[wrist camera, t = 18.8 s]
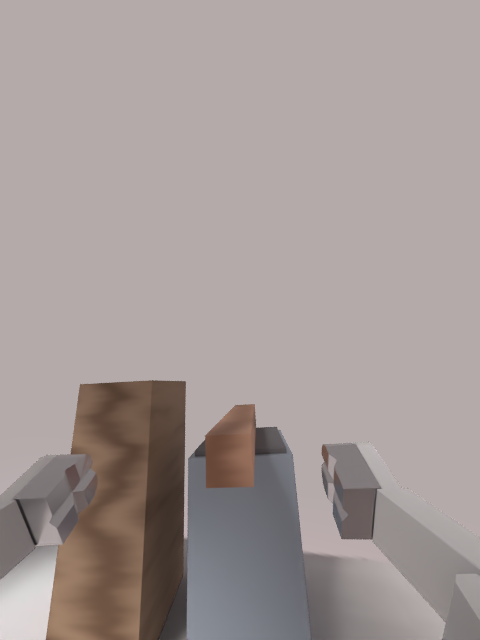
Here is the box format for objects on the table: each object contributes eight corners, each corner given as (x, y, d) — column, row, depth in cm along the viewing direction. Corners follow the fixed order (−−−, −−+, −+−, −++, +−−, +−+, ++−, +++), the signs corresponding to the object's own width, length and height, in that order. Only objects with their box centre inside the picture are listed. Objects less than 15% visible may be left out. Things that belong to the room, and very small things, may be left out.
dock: (186, 699, 18) (188, 452, 22) (213, 574, 29) (211, 429, 34) (317, 701, 17) (292, 448, 22) (292, 573, 29) (279, 426, 33)
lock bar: (205, 488, 14) (205, 435, 15) (236, 425, 35) (235, 405, 36) (253, 486, 14) (250, 433, 15) (255, 424, 35) (254, 404, 36)
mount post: (38, 696, 18) (80, 384, 25) (122, 575, 30) (136, 384, 36) (135, 698, 18) (152, 380, 24) (183, 574, 29) (185, 381, 36)
